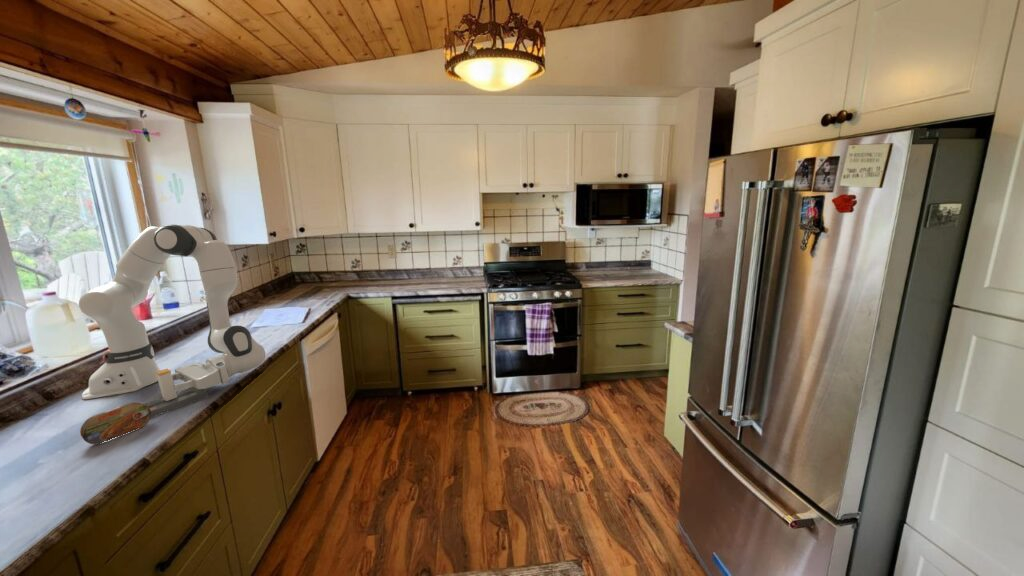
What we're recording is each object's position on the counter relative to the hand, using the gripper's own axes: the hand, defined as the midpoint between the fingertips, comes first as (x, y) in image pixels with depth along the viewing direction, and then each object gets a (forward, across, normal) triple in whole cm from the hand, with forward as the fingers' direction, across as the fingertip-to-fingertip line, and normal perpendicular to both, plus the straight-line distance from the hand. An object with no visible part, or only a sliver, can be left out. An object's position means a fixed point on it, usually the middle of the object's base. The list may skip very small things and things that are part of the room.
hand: (169, 384), depth 135 cm
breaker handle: (+1, 0, +5) cm, 5 cm away
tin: (+16, +8, +7) cm, 19 cm away
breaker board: (+1, 0, +7) cm, 7 cm away
